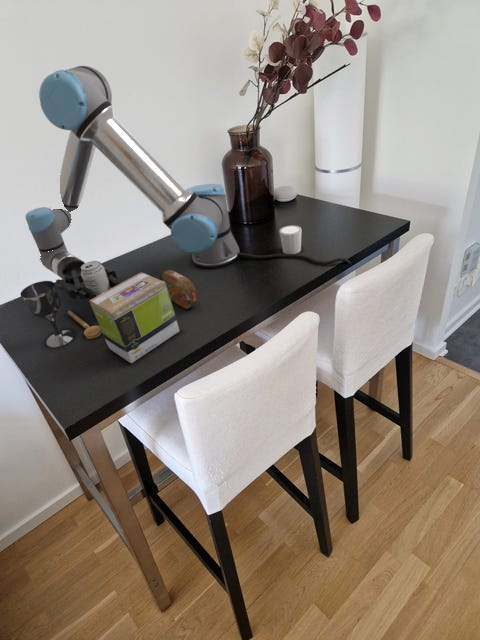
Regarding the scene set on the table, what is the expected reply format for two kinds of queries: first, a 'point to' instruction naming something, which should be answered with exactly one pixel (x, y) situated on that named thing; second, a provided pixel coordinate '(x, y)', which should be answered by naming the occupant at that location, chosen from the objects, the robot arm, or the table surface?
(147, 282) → the tea box
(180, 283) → the tin
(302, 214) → the table surface
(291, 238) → the shot glass
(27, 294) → the wine glass
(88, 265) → the energy drink can
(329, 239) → the table surface
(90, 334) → the wooden spoon
